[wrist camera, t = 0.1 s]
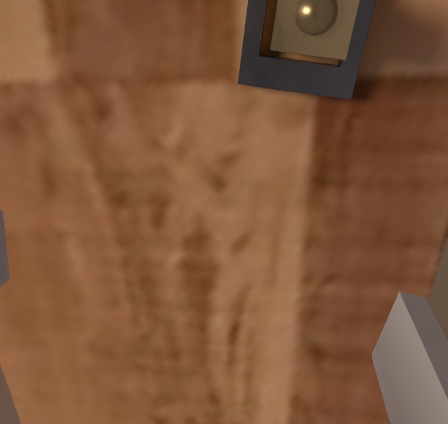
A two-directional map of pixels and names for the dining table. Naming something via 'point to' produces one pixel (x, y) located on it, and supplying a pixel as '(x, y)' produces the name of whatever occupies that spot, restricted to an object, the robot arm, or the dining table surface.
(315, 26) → the tan block with knob
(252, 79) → the grey flat plate
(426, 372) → the robot arm
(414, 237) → the dining table surface
